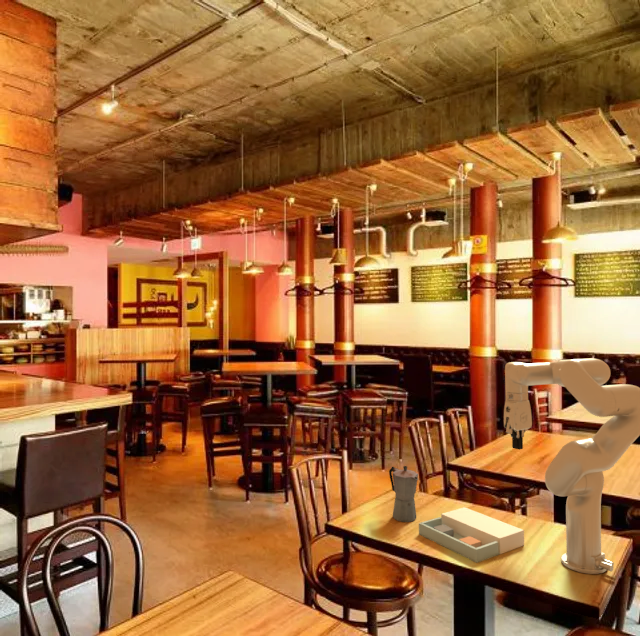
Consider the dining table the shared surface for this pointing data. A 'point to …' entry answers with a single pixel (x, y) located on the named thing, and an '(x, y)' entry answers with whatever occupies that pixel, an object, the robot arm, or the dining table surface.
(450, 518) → the board
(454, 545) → the box
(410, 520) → the moka pot
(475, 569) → the dining table surface
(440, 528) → the slate tile
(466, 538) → the terracotta tile
